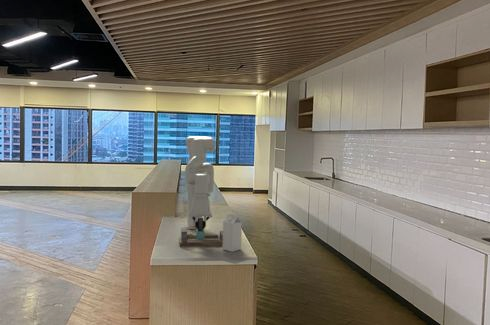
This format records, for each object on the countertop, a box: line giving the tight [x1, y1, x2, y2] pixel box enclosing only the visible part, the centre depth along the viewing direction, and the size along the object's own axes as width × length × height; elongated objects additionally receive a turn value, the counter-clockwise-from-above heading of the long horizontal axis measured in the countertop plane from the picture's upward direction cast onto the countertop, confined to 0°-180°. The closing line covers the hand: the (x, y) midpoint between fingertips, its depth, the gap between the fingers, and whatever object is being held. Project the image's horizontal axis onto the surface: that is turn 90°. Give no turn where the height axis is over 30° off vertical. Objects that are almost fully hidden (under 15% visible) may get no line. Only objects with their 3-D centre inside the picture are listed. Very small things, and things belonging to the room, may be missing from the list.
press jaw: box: [195, 217, 205, 239], centre depth 247 cm, size 7×4×12 cm, turn 10°
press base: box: [178, 227, 223, 247], centre depth 248 cm, size 12×25×8 cm, turn 99°
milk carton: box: [222, 213, 243, 253], centre depth 236 cm, size 7×7×19 cm
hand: (200, 228), depth 247 cm, fingers closed on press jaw, 3 cm apart
